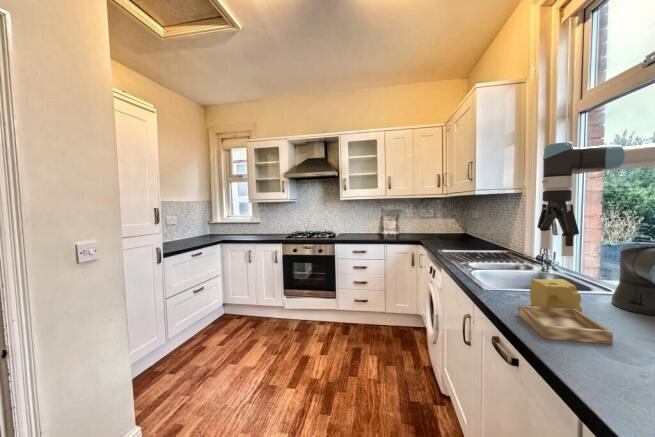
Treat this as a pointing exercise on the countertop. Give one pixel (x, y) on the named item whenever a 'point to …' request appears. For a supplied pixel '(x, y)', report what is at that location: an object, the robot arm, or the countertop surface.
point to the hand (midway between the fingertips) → (555, 252)
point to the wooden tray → (565, 324)
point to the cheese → (554, 294)
